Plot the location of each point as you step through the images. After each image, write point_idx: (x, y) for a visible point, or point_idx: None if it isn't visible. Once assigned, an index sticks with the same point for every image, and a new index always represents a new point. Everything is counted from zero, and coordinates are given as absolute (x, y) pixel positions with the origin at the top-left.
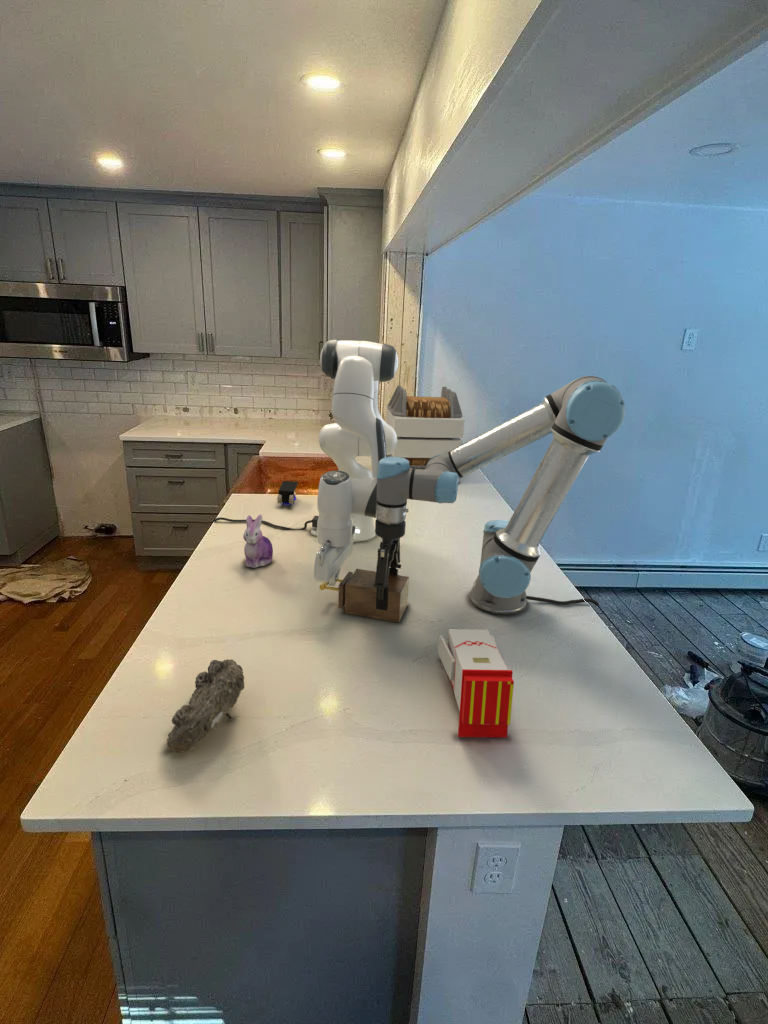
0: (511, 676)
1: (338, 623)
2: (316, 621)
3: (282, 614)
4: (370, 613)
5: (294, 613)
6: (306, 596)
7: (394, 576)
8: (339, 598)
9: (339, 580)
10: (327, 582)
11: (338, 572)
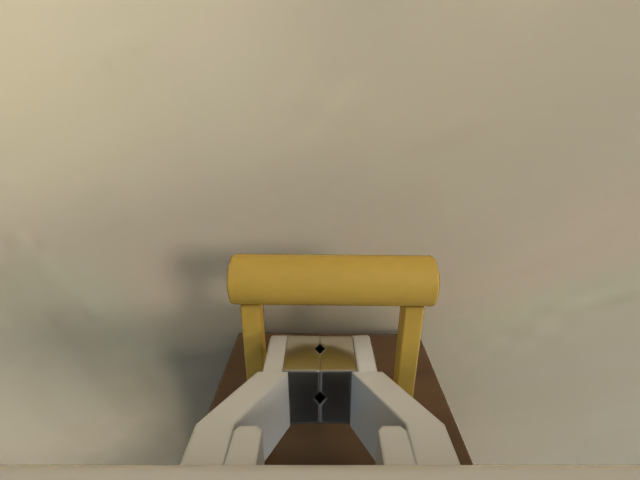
0: None
1: (132, 354)
2: (90, 256)
3: (40, 18)
4: None
5: (96, 98)
6: (339, 82)
7: None
8: (222, 380)
9: (397, 369)
10: (318, 304)
11: (374, 454)
